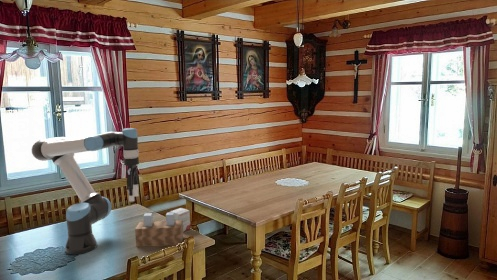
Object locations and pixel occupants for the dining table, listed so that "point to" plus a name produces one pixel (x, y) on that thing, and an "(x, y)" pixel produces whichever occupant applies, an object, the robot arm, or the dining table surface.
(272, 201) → the dining table surface
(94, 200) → the robot arm
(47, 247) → the dining table surface
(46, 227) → the dining table surface
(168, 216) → the peg
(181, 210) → the ink box
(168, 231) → the socket block
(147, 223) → the peg
